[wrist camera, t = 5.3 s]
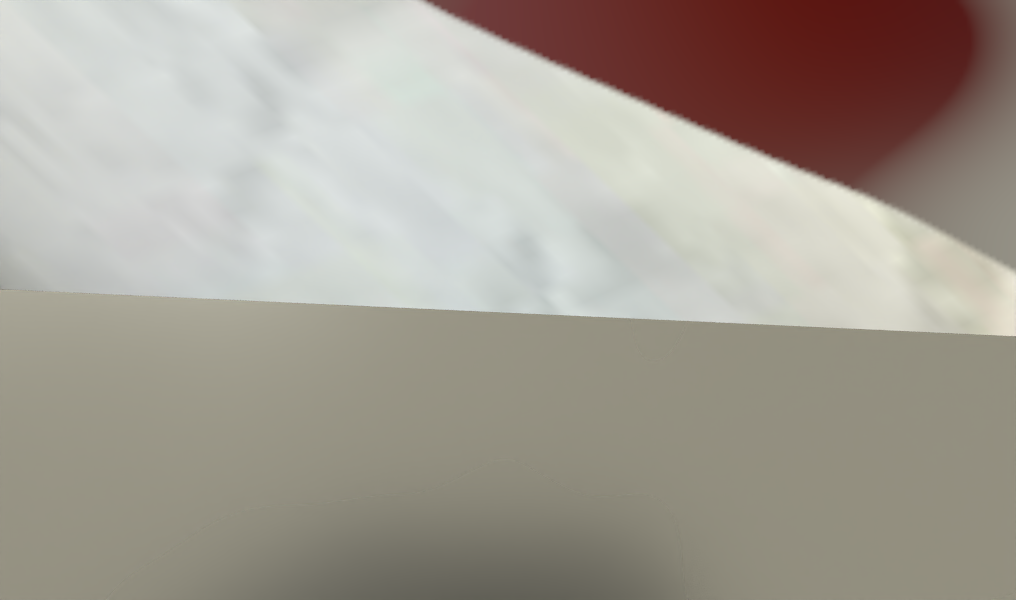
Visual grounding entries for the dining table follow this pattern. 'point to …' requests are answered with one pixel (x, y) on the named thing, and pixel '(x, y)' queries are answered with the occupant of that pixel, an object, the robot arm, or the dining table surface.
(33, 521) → the tea tin
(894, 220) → the dining table surface
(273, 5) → the dining table surface
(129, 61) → the dining table surface
